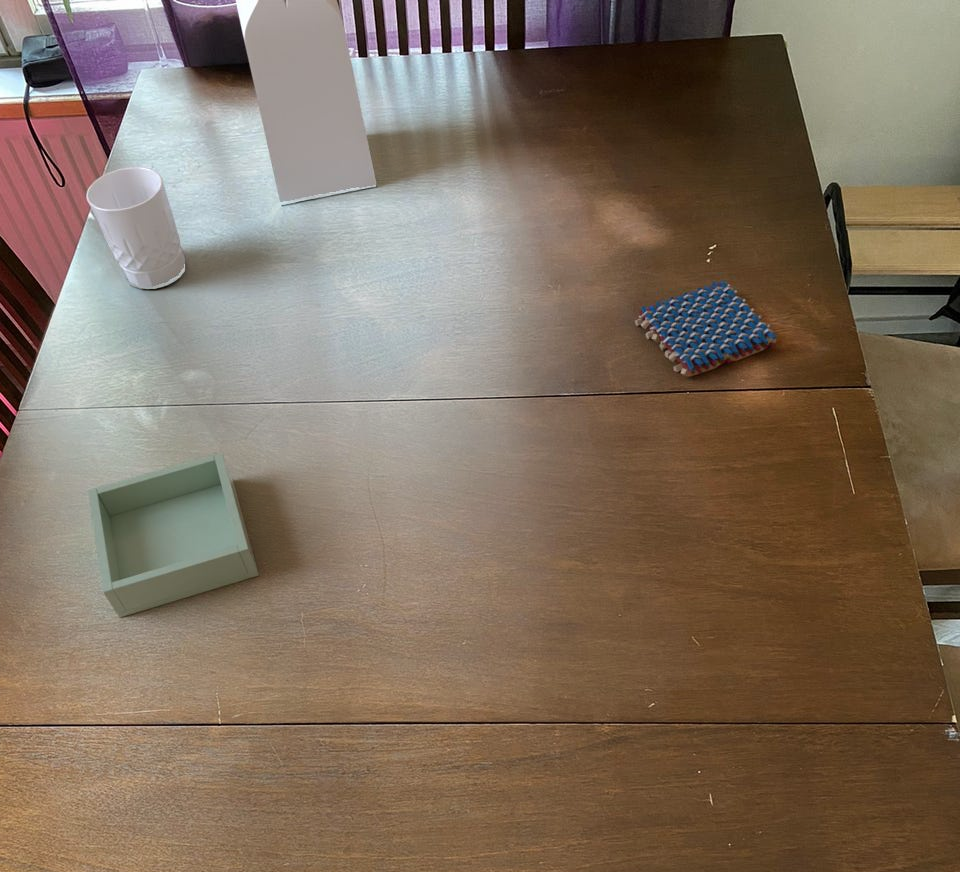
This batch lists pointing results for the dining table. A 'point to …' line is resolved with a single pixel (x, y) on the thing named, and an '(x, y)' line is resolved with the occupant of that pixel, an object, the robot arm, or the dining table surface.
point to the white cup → (138, 224)
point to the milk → (306, 96)
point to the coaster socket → (170, 535)
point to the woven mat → (706, 329)
